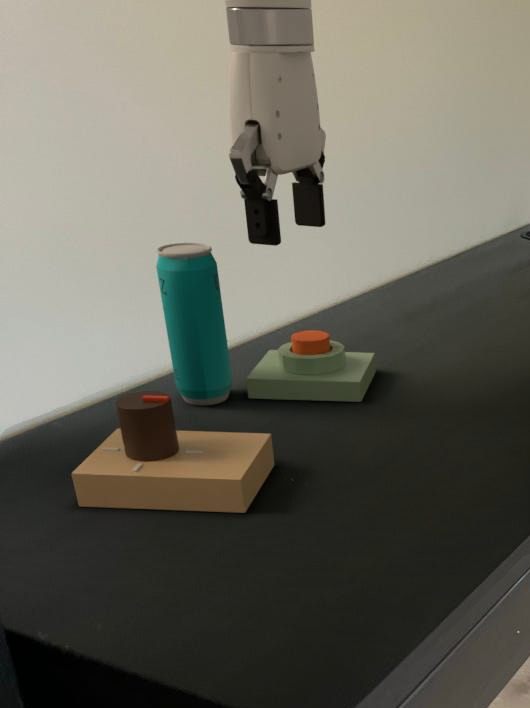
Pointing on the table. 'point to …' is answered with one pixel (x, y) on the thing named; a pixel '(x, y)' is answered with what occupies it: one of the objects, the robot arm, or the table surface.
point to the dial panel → (178, 474)
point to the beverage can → (194, 322)
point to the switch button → (310, 342)
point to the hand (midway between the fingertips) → (288, 234)
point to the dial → (147, 425)
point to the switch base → (312, 375)
